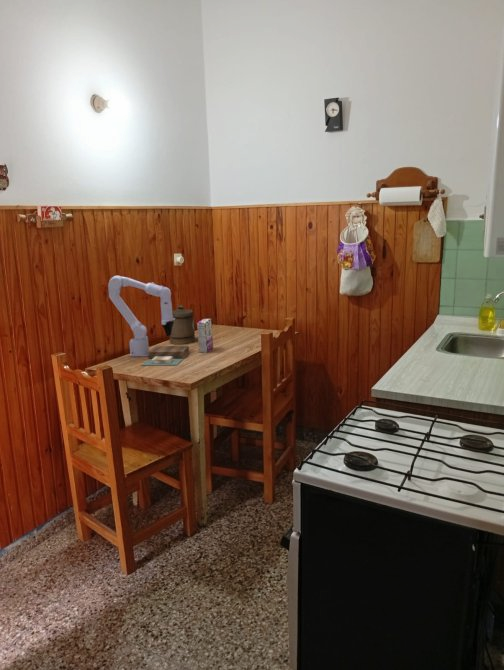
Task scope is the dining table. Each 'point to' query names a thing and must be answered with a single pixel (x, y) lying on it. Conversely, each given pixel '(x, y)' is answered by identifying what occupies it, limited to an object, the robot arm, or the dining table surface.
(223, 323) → the dining table surface
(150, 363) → the rubber mat
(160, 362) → the birch tile
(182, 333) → the wooden container
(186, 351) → the walnut board
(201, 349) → the candy bar box
